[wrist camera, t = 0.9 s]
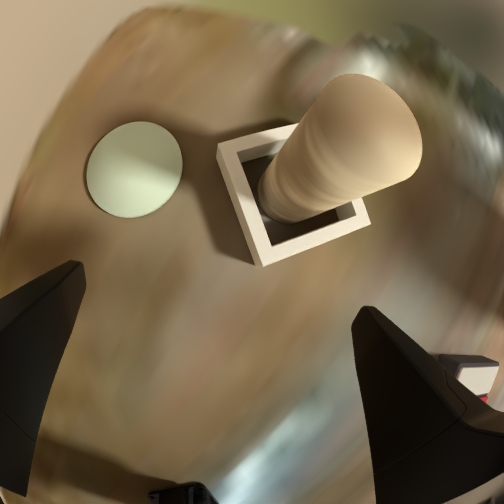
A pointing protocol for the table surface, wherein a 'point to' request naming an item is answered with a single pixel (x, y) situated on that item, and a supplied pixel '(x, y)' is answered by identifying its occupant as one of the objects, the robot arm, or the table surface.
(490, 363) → the calculator
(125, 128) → the coaster
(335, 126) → the peg
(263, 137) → the pocket
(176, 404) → the table surface
